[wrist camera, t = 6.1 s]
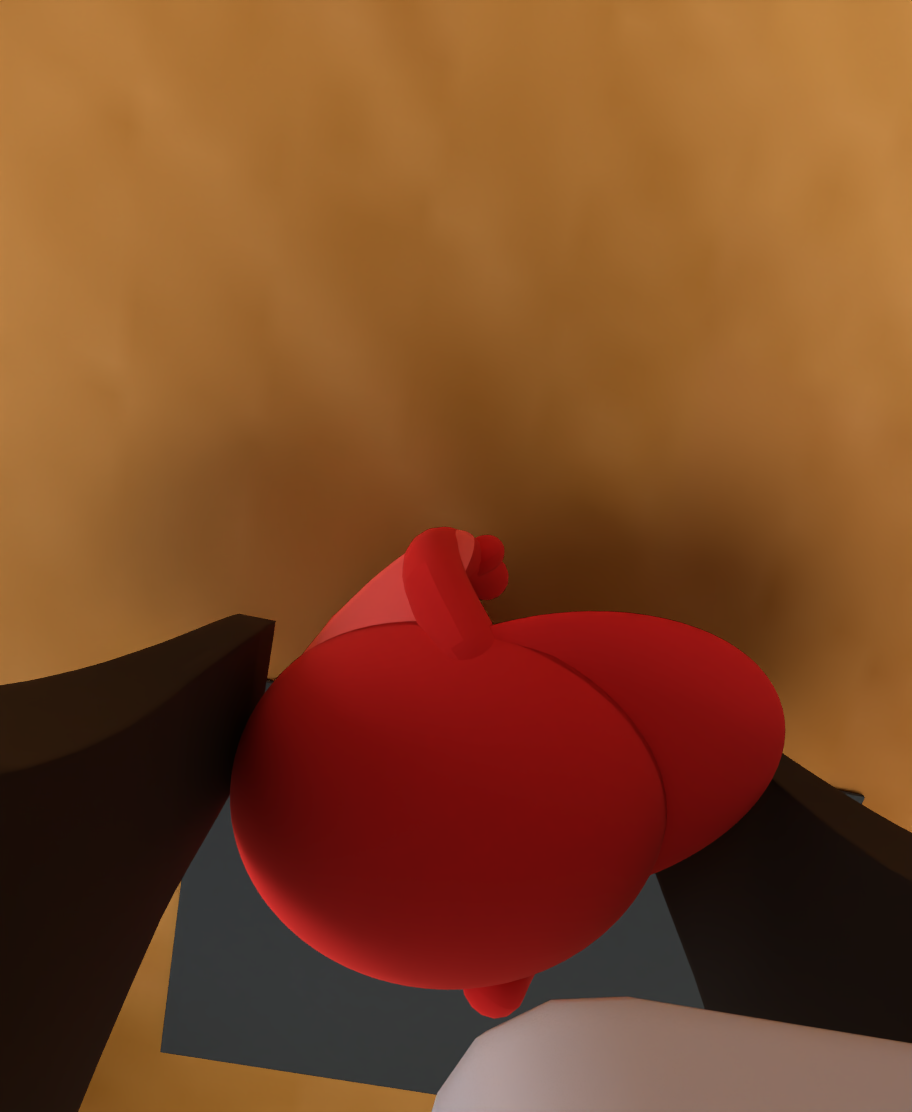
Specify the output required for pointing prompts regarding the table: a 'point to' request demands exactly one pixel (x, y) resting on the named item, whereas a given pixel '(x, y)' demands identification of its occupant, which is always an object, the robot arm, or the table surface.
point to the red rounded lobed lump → (488, 773)
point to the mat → (365, 985)
